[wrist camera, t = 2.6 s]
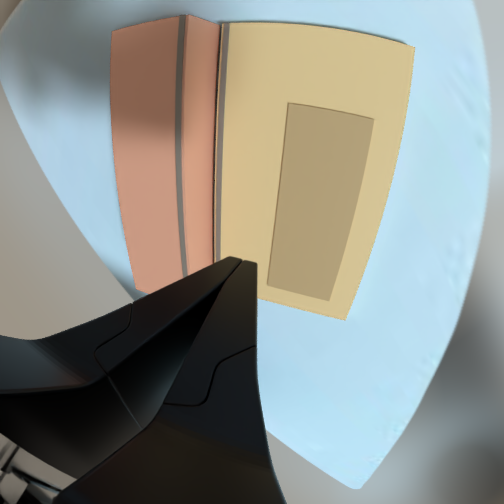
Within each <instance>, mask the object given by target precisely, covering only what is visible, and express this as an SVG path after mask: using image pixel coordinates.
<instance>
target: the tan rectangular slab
mask: <svg viewBox="0 0 504 504" xmlns="http://www.w3.org/2000/svg"><path fill="white" fill-rule="evenodd" d="M414 52H415V47H413V46H410V45H406V44H403V43H399V42H396V41H392V40H388V39H384V38H380V37H376V36H372V35H367V34H362V33H357V32H352V31H347V30H341V29H334V28H327V27H320V26H311V25H300V24H287V23H222V36H221V50H220V65H219V82H218V102H217V126H216V159H215V262H218V261H220V260H222V259H224V258H226V257H228V256H233V257H237V258H241V259H242V260H249V261H253V262H256V263H257V264H258V285H257V298H259V299H262V300H266V301H270V302H274V303H277V304H281V305H285V306H289V307H293V308H296V309H300V310H304V311H308V312H312V313H316V314H320V315H324V316H328V317H332V318H337V319H341V320H346V318H347V315H348V313H349V310H350V308H351V305H352V303H353V300H354V298H355V295H356V292H357V290H358V287H359V284H360V282H361V279H362V276H363V274H364V271H365V268H366V265H367V262H368V259H369V256H370V254H371V251H372V248H373V244H374V241H375V238H376V235H377V232H378V229H379V226H380V222H381V219H382V215H383V212H384V209H385V205H386V201H387V198H388V194H389V190H390V187H391V183H392V179H393V175H394V171H395V167H396V162H397V158H398V153H399V149H400V144H401V139H402V134H403V129H404V124H405V119H406V113H407V107H408V101H409V94H410V87H411V80H412V72H413V63H414Z"/></svg>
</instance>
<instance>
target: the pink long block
mask: <svg viewBox="0 0 504 504" xmlns="http://www.w3.org/2000/svg"><path fill="white" fill-rule="evenodd" d="M219 36H220V25H218V24H215V23H212V22H209V21H207V20H204V19H201V18H198V17H195V16H192V15H180V16H176V17H171V18H165V19H160V20H155V21H150V22H146V23H141V24H137V25H133V26H129V27H125V28H122V29H118V30H115V31H112V36H111V58H110V104H111V126H112V141H113V153H114V164H115V173H116V181H117V189H118V197H119V204H120V210H121V217H122V223H123V228H124V234H125V239H126V245H127V250H128V255H129V260H130V264H131V269H132V273H133V278H134V282H135V286H136V289H137V290H140V291H142V292H145V293H148V294H150V293H153V292H155V291H157V290H159V289H161V288H163V287H165V286H167V285H169V284H171V283H173V282H176V281H178V280H180V279H182V278H184V277H186V276H188V275H190V274H192V273H194V272H196V271H199V270H201V269H203V268H205V267H207V266H209V265H211V264H213V166H214V129H215V104H216V83H217V65H218V50H219Z"/></svg>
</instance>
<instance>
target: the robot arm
mask: <svg viewBox="0 0 504 504" xmlns="http://www.w3.org/2000/svg"><path fill="white" fill-rule="evenodd" d="M257 285H258V264H257V263H256V262H253V261H249V260H242V259H241V258H237V257H233V256H228V257H226V258H224V259H222V260H220V261H218V262H215V263H213V264H211V265H209V266H207V267H205V268H203V269H201V270H199V271H196V272H194V273H192V274H190V275H188V276H186V277H184V278H182V279H180V280H178V281H176V282H173V283H171V284H169V285H167V286H165V287H163V288H161V289H159V290H157V291H155V292H153V293H150V294H148V295H146V296H144V297H142V298H140V299H138V300H136V301H134V302H133V304H132V303H130V304H128V305H125V306H123V307H121V308H119V309H117V310H115V311H112V312H110V313H108V314H106V315H104V316H101V317H99V318H97V319H94V320H91V321H89V322H86V323H84V324H81V325H78V326H76V327H73V328H70V329H68V330H65V331H62V332H60V333H57V334H54V335H51V336H49V337H45V338H42V339H37V340H24V339H18V338H12V337H7V336H2V335H0V504H287V503H286V500H285V498H284V495H283V493H282V490H281V487H280V485H279V482H278V480H277V477H276V474H275V471H274V468H273V465H272V460H271V456H270V452H269V446H268V441H267V435H266V430H265V424H264V418H263V412H262V406H261V400H260V393H259V385H258V374H257Z"/></svg>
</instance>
